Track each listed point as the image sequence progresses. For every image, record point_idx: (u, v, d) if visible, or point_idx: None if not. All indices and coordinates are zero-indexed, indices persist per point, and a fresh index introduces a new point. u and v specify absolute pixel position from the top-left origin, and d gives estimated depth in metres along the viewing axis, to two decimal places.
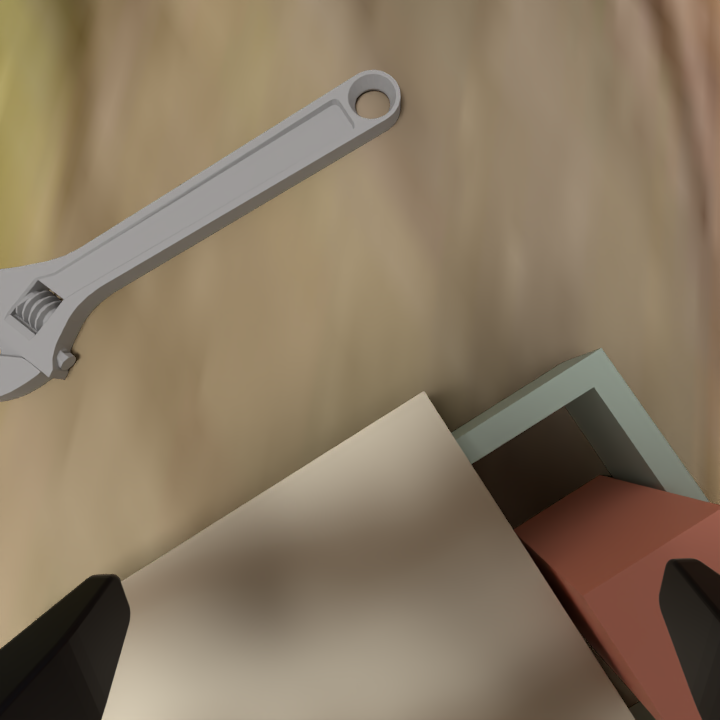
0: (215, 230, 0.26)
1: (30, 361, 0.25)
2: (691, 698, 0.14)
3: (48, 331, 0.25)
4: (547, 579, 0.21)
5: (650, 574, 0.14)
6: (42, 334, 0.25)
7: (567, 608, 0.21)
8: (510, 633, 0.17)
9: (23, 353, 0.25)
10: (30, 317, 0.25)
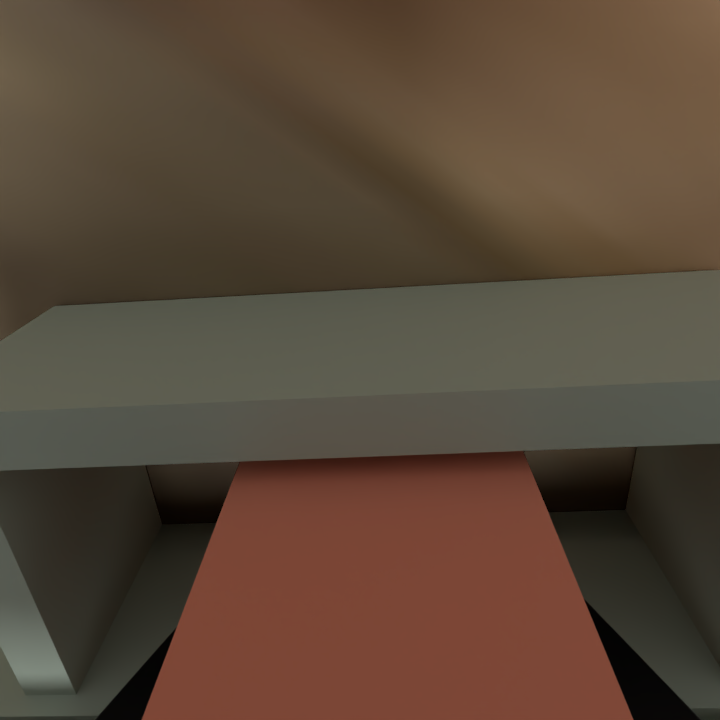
0: None
1: None
2: None
3: None
4: None
5: None
6: None
7: None
8: None
9: None
10: None
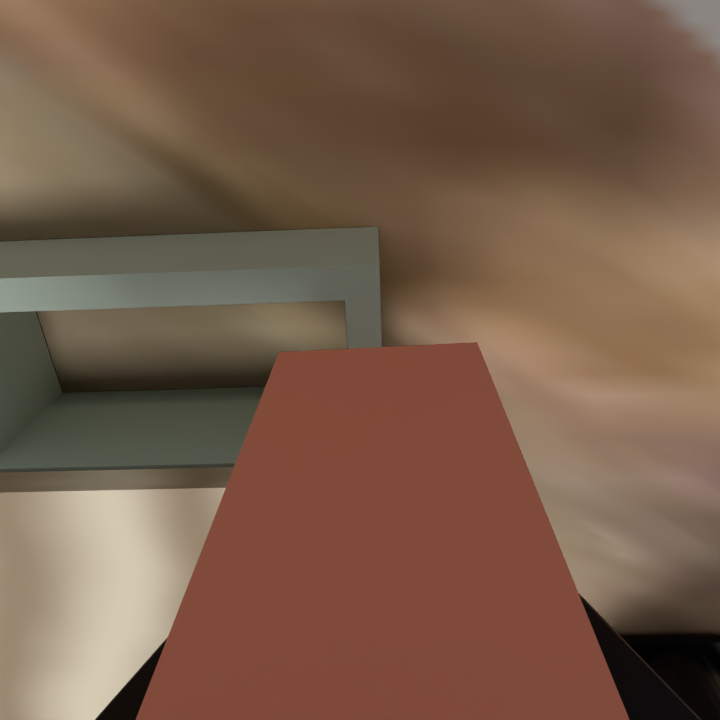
0: None
1: None
2: None
3: None
4: None
5: None
6: None
7: None
8: (125, 535, 0.17)
9: None
10: None
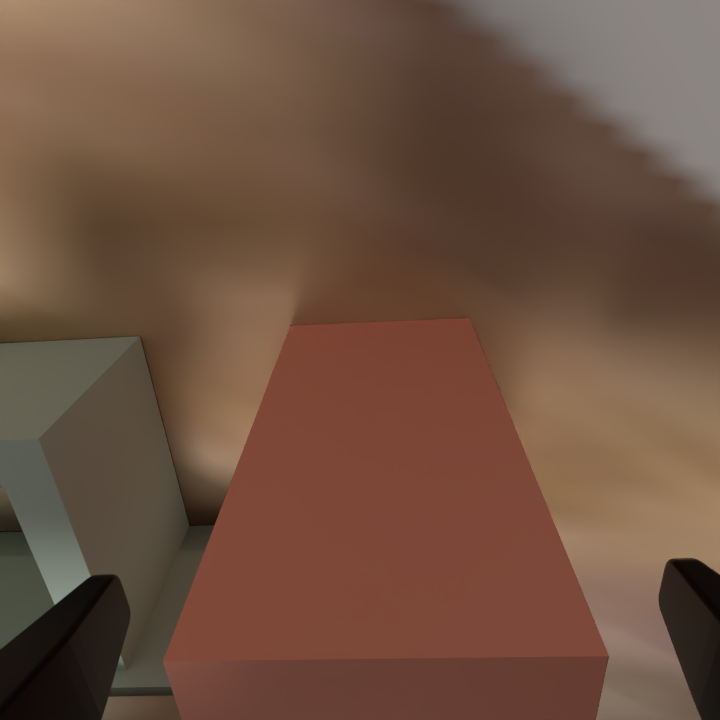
0: None
1: None
2: None
3: None
4: None
5: None
6: None
7: None
8: None
9: None
10: None
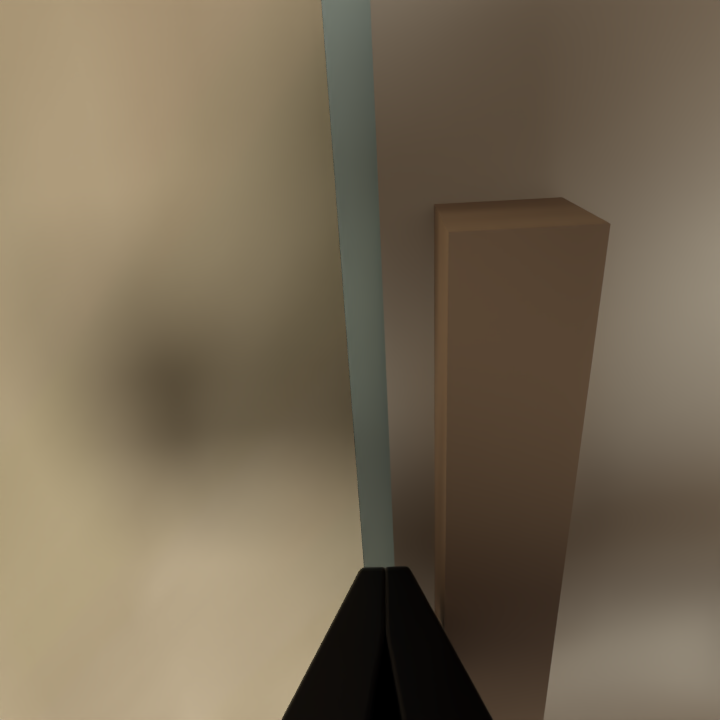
0: None
1: None
2: None
3: None
4: None
5: None
6: None
7: None
8: None
9: None
10: None
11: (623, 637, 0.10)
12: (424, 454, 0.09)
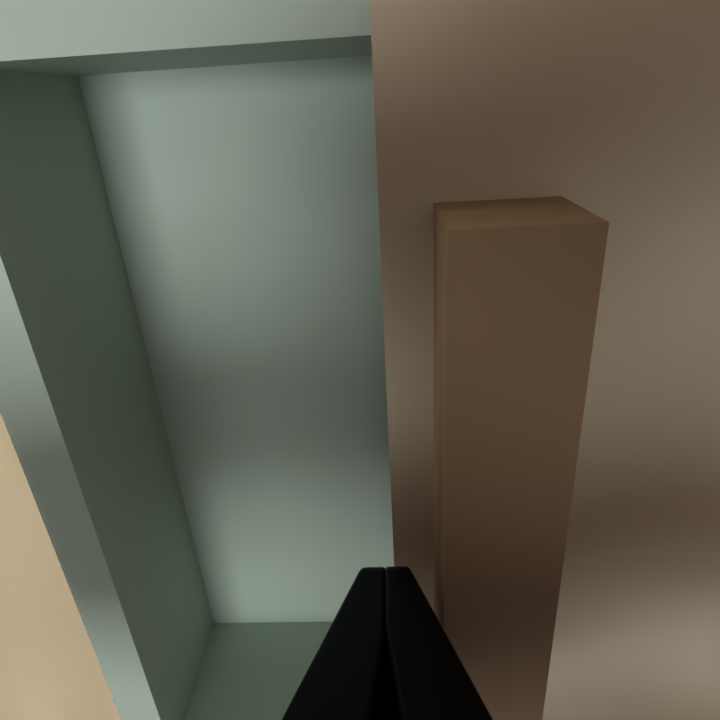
0: None
1: None
2: None
3: None
4: None
5: None
6: None
7: None
8: None
9: None
10: None
11: (622, 636, 0.10)
12: (423, 452, 0.09)
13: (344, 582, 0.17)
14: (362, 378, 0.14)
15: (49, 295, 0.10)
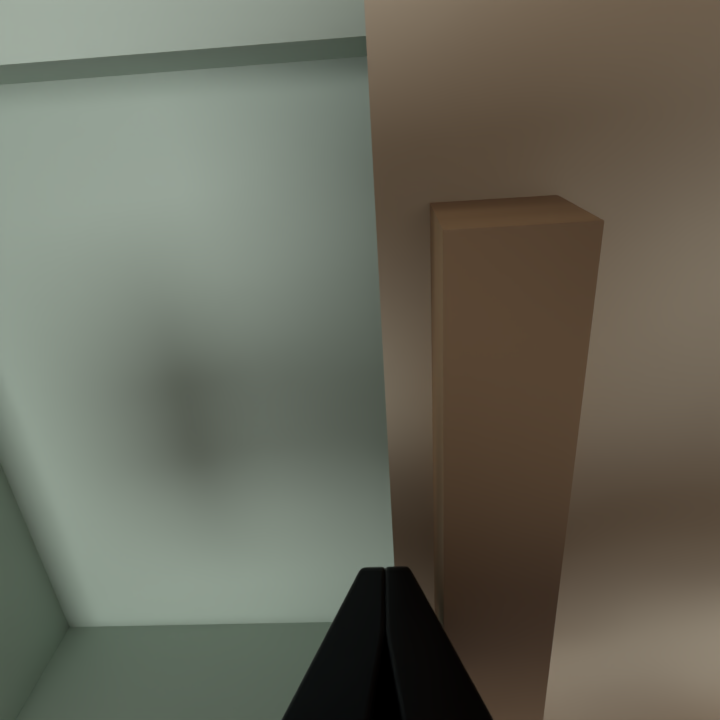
0: None
1: None
2: None
3: None
4: None
5: None
6: None
7: None
8: None
9: None
10: None
11: (623, 634, 0.10)
12: (422, 452, 0.09)
13: (189, 586, 0.17)
14: (171, 387, 0.14)
15: None
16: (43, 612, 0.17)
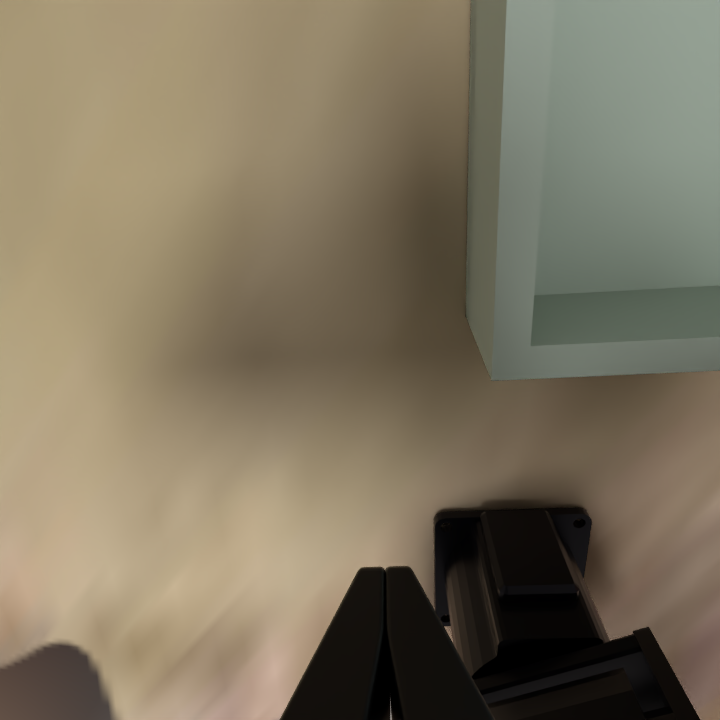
0: None
1: None
2: None
3: None
4: None
5: None
6: None
7: None
8: None
9: None
10: None
11: None
12: None
13: (644, 237, 0.17)
14: None
15: None
16: None
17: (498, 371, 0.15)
